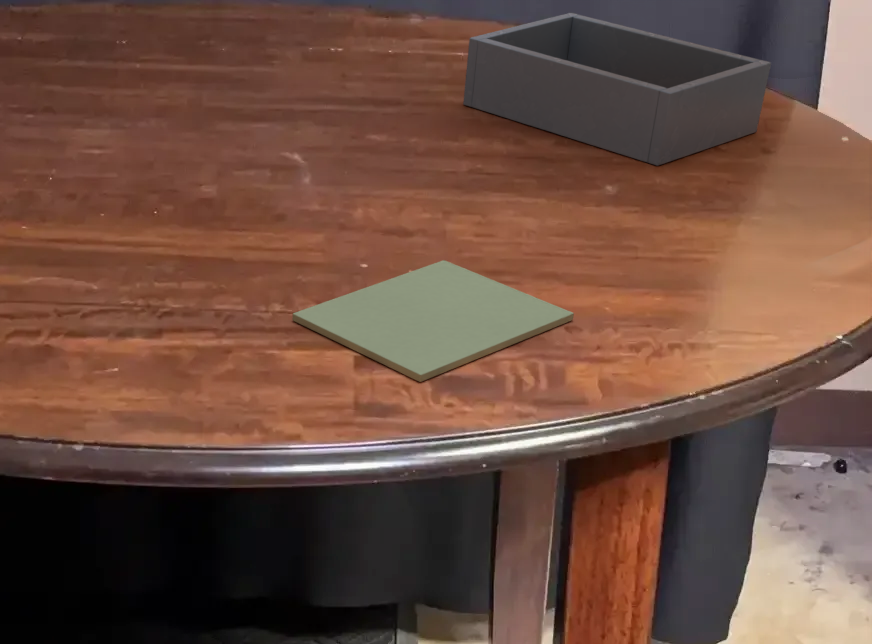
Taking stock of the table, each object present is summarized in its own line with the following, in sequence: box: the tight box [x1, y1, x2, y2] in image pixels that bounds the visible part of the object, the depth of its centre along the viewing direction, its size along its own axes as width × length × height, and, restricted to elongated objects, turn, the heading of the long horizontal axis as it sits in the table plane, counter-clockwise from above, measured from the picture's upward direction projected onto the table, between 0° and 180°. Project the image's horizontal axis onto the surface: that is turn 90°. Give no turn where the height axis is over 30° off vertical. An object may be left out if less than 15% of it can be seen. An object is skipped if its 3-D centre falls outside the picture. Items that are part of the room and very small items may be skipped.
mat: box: [292, 259, 575, 383], centre depth 76 cm, size 9×11×1 cm
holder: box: [462, 12, 772, 167], centre depth 102 cm, size 17×11×4 cm, turn 39°
